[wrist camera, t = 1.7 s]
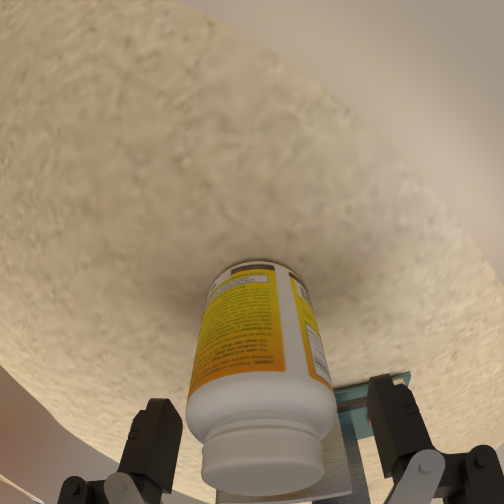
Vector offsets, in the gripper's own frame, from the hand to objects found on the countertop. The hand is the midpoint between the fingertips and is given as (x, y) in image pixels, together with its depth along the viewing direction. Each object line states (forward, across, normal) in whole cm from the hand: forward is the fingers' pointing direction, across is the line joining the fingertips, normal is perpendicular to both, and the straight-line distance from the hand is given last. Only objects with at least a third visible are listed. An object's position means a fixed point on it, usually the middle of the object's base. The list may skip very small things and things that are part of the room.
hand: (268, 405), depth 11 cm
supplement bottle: (+7, 0, 0) cm, 7 cm away
